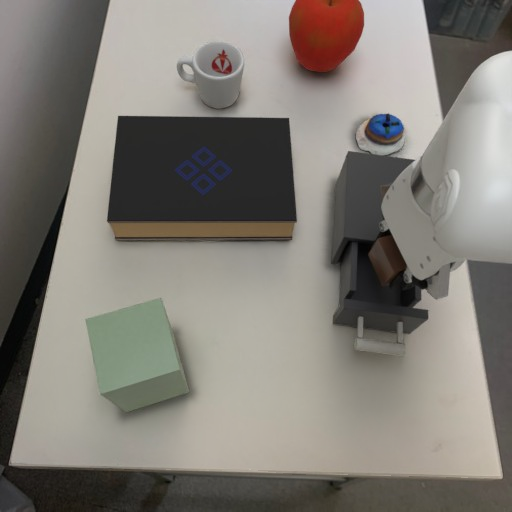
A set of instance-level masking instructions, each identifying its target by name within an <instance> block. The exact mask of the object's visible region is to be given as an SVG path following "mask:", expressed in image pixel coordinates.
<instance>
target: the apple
mask: <svg viewBox="0 0 512 512" xmlns="http://www.w3.org/2000/svg"><path fill="white" fill-rule="evenodd" d="M290 9H291V10H290V13H289V16H288V30H289V31H288V36H289V40H290V45H291V48H292V50H293V53H294V56H295V59H296V60H297V62H298V63H299V65H301V66H302V67H304V68H305V69H307V70H308V71H312V72H316V73H328V72H330V71H333V70H335V69H336V68H338V67H339V66H340V65H341V64H342V63H343V62H344V61H345V60H346V59H347V58H348V57H349V56H350V55H351V54H352V53H353V52H354V51H355V50H356V47H357V45H358V44H359V41H360V40H361V38H362V36H363V35H362V34H363V31H364V27H365V12H364V9H363V4H362V2H361V0H294V3H293V4H292V6H291V8H290Z"/></svg>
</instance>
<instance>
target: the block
mask: <svg viewBox="0 0 512 512" xmlns="http://www.w3.org/2000/svg"><path fill="white" fill-rule="evenodd" d="M368 256H369V258H370V260H371V263H372V265H373V267H374V269H375V271H376V273H377V276H378V278H379V280H380V282H381V284H382V286H383V287H384V286H387V285H390V283H391V281H392V280H393V279H394V278H395V277H396V275H397V274H398V273H400V272H402V271H405V269H406V266H407V264H406V262H405V260H404V258H403V256H402V254H401V252H400V250H399V248H398V246H397V244H396V242H395V240H394V237H393V235H389V236H385V237H381V238H378V239H377V241H376V242H375V244H374V246H373V247H372V249H371V250H370V252H369V253H368Z"/></svg>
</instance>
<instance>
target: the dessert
mask: <svg viewBox="0 0 512 512" xmlns="http://www.w3.org/2000/svg"><path fill="white" fill-rule="evenodd" d="M404 126H405V125H404V123H402V120H401V119H400V118H398V117H397V116H395V115H393V114H390V113H389V112H388V113H379V114H376V115H373V116H372V117H370V118H368V119H366V120H364V121H363V122H362V123H361V124H360V125H359V126H358V127H357V129H356V132H355V140H356V143H357V145H358V147H359V149H360V150H361V151H366V152H369V153H370V154H375V155H383V156H389V155H391V154H393V153H395V152H398V151H400V150H401V149H402V148H403V146H404V144H405V142H406V136H405V134H404V131H405V127H404Z"/></svg>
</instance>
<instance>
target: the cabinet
mask: <svg viewBox="0 0 512 512" xmlns="http://www.w3.org/2000/svg"><path fill="white" fill-rule="evenodd" d="M415 160H416V159H412V158H405V157H404V158H403V157H398V156H389V155H375V154H372V153H368V152H359V151H352V150H348V151H347V153H346V155H345V158H344V161H343V164H342V166H341V169H340V172H339V174H338V177H337V180H336V182H335V185H334V186H335V187H334V188H335V189H334V202H333V203H334V205H333V223H332V235H331V236H332V237H331V238H332V239H331V255H330V256H331V257H330V264H331V265H337V266H341V262H342V252H343V250H344V248H345V246H346V244H347V242H348V240H350V241H357V242H365V243H372V244H373V243H374V241H375V240H376V238H377V236H378V234H379V233H380V231H381V230H380V228H379V223H380V222H382V221H383V214H382V209H381V205H382V195H381V185H385V184H389V183H393V182H394V181H395V180H396V179H397V177H398V176H399V175H400V174H401V173H402V172H403V171H404V170H405V169H406V168H407V167H408V166H409V165H410V164H411V163H412V162H414V161H415Z"/></svg>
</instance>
